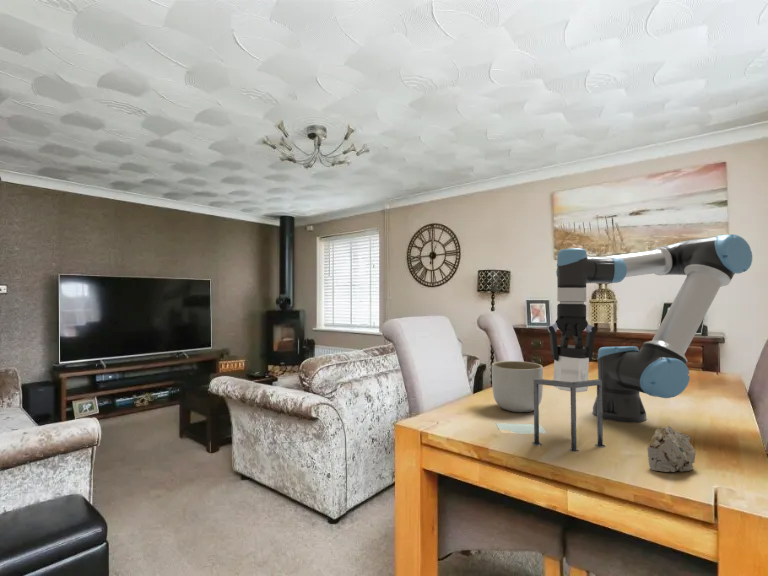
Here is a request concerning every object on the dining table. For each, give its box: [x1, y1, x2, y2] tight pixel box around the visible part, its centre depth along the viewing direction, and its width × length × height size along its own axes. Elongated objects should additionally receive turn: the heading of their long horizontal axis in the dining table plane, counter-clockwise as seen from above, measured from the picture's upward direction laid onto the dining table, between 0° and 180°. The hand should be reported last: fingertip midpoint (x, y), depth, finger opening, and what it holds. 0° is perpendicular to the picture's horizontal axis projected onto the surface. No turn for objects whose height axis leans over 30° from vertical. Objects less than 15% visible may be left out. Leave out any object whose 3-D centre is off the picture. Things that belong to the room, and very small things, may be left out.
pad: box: [495, 423, 548, 435], centre depth 117 cm, size 13×13×1 cm
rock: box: [646, 425, 697, 473], centre depth 91 cm, size 12×7×10 cm, turn 111°
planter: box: [491, 360, 544, 413], centre depth 141 cm, size 17×17×15 cm
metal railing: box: [531, 378, 606, 452], centre depth 103 cm, size 18×6×18 cm, turn 85°
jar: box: [553, 344, 590, 393], centre depth 114 cm, size 9×8×12 cm
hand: (571, 385), depth 114 cm, fingers open, 3 cm apart
